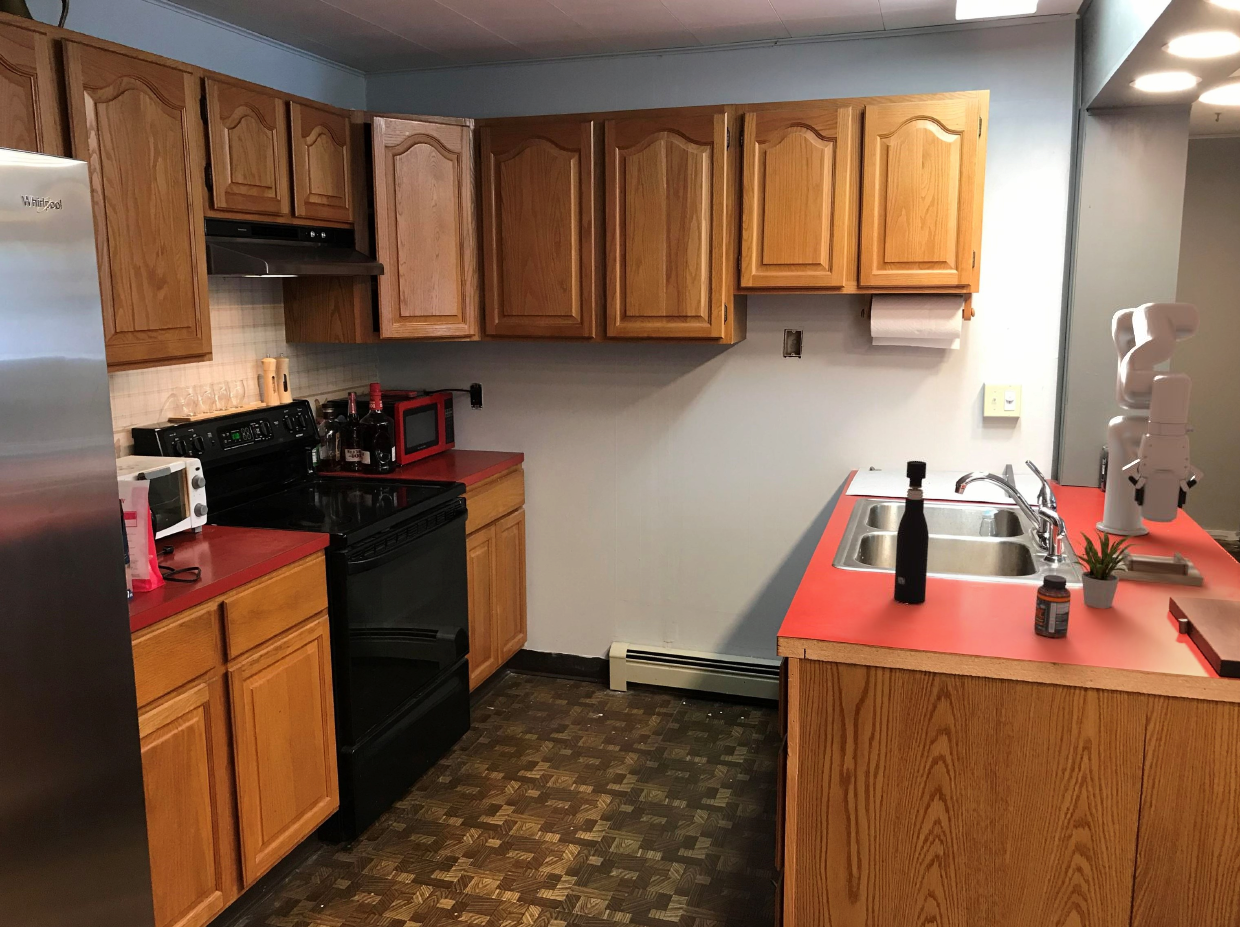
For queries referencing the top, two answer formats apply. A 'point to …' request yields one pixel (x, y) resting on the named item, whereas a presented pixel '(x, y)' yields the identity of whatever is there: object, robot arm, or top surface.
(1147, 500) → the can
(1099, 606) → the house plant
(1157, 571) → the dock
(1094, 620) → the top surface
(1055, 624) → the supplement bottle
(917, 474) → the black insulated water bottle
